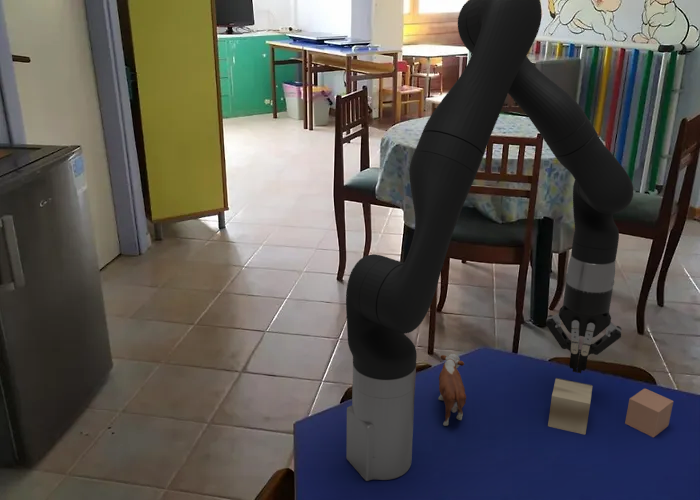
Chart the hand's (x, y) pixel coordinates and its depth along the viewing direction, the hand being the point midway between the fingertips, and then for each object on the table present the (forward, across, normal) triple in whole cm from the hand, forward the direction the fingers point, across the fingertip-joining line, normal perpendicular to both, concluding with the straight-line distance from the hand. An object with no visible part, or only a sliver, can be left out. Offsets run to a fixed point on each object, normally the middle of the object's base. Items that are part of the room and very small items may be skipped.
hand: (576, 370), depth 120 cm
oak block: (+2, 0, +5) cm, 6 cm away
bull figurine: (+5, +20, +13) cm, 24 cm away
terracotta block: (+5, -12, +4) cm, 14 cm away
